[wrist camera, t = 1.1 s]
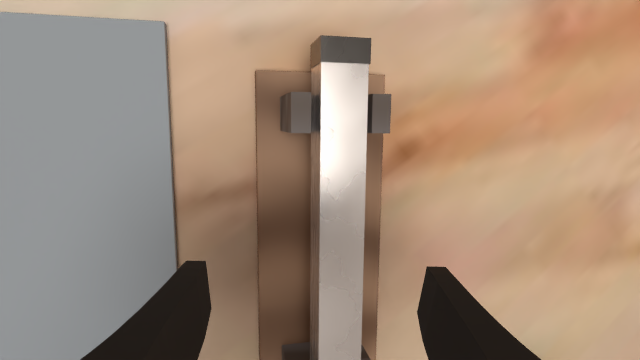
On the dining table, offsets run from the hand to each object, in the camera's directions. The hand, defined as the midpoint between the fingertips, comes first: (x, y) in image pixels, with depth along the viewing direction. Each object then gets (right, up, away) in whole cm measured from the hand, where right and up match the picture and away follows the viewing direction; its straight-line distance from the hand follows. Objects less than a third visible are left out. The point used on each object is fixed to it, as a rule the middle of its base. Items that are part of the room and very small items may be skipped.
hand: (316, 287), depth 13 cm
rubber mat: (-14, -1, +10) cm, 17 cm away
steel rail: (+1, -1, +10) cm, 10 cm away
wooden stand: (0, 0, +13) cm, 13 cm away
